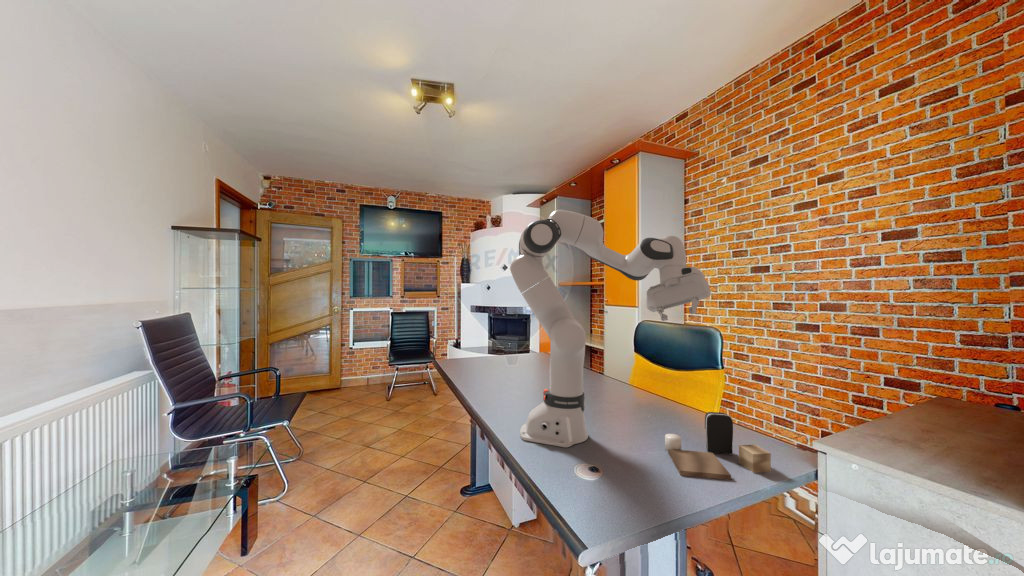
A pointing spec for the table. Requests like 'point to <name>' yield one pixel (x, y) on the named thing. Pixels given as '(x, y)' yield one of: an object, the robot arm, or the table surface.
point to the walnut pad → (698, 464)
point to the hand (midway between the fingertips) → (678, 316)
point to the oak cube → (755, 458)
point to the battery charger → (719, 433)
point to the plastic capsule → (672, 442)
